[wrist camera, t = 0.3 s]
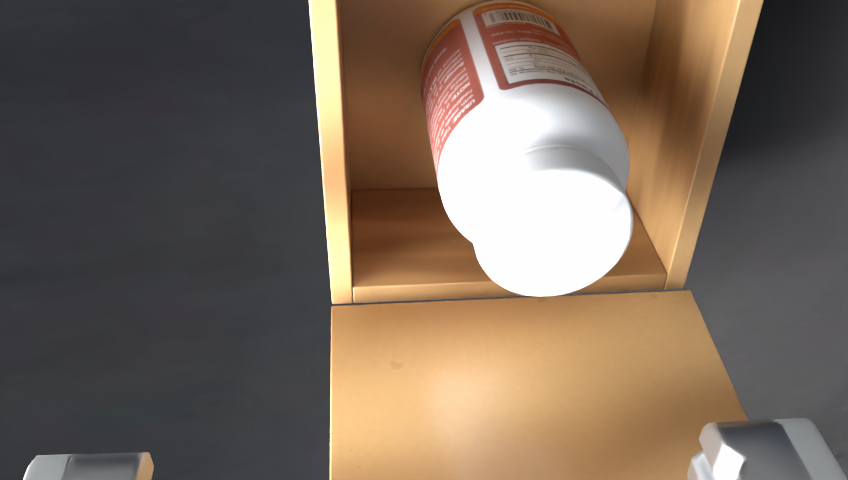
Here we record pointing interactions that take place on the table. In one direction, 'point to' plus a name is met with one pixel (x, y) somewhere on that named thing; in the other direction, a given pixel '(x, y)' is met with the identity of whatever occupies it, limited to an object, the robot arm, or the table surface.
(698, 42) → the chest
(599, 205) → the pill bottle
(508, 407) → the chest lid
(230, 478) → the table surface
